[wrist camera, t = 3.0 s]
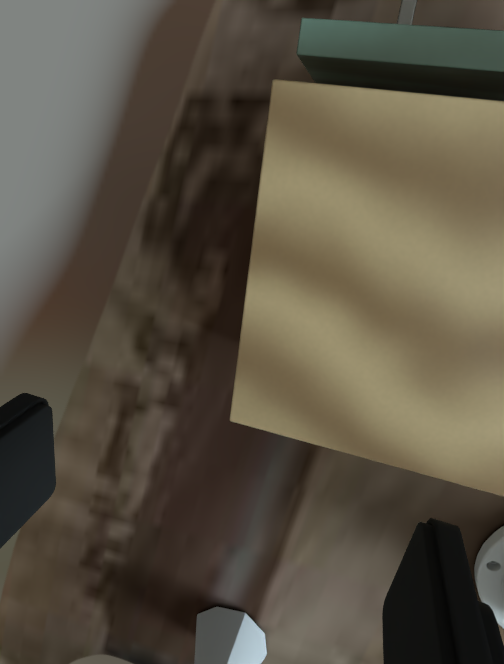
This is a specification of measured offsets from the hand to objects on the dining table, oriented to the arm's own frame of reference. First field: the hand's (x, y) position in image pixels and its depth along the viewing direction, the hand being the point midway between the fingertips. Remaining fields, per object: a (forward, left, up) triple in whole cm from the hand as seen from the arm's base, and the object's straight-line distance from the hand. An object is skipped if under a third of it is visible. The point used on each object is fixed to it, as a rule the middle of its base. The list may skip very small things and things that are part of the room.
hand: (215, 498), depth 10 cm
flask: (+2, +35, -19) cm, 40 cm away
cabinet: (-5, -3, -19) cm, 20 cm away
